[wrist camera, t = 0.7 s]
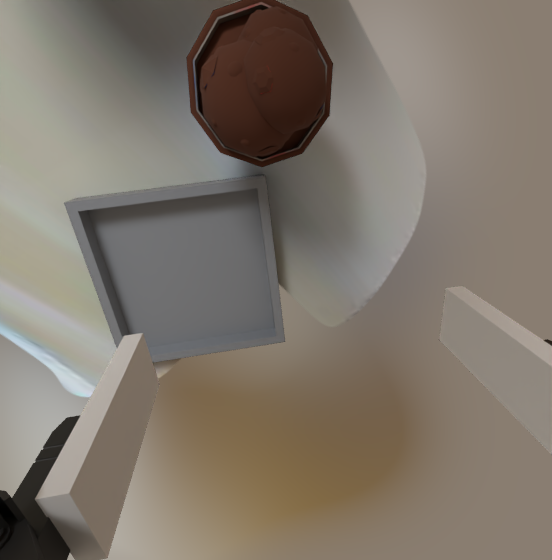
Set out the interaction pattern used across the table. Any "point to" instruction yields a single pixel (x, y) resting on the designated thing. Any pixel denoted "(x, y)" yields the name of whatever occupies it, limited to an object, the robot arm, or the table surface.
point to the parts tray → (184, 265)
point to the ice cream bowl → (259, 81)
